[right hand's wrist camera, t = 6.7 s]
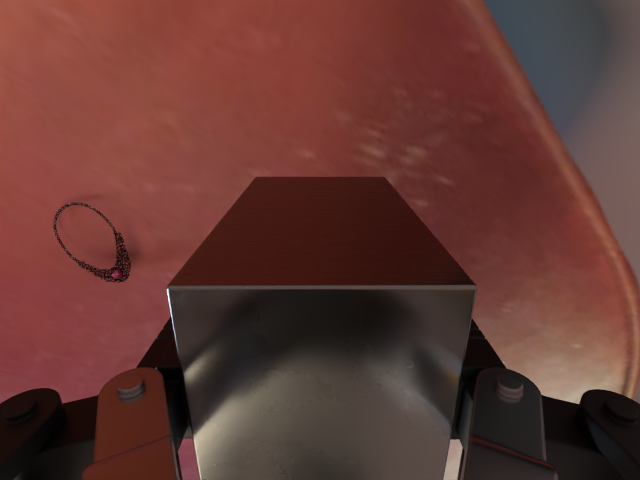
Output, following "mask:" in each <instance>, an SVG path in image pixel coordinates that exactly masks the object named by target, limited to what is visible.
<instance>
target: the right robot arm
mask: <svg viewBox="0 0 640 480" xmlns="http://www.w3.org/2000/svg"><path fill="white" fill-rule="evenodd" d="M183 438H192V433H191V427H190V421H189V416H188V410H187V404H186V398H185V392H184V387H183V381H182V375H181V369H180V363H179V358H178V352H177V346H176V340H175V335H174V329H173V323H172V317H170V319H169V320H168V322H167V323H166V324H165V326H164V327H163V330H161V332H160V333H159V335H158V336H157V339H155V341H154V342H153V344H152V345H151V347H150V348H149V350H148V351H147V353H146V354H145V356H144V357H143V359H142V360H141V361H140V363H139V364H138V366H137V367H136V368H135V369H131V370H128V371H125V372H123V373H120V374H119V375H117V376H115V377H114V378H112V379H111V380H110V381H108V382H107V383H106V384H105V385H104V386H103V388H102V389H101V391H100V393H99V395H97V396H94V397H89V398H85V399H81V400H77V401H72V402H68V403H64V404H62V401H61V398H60V395H59V394H58V392H57V391H55V390H53V389H49V388H40V389H33V390H29V391H26V392H23V393H20V394H18V395H15V396H13V397H11V398H9V399H7V400H6V401H4V402H2V403H1V404H0V480H183V479H182V472H181V466H180V460H179V455H178V450H179V447H180V445H181V442H182V440H183ZM450 439H460V442H461V444H462V447H463V449H462V454H461V460H460V466H459V472H458V478H457V480H640V404H639V403H637V402H635V401H634V400H632V399H630V398H628V397H626V396H623V395H621V394H618V393H615V392H612V391H607V390H600V389H595V390H589V391H587V392H585V393H584V394H583V395H582V397H581V400H580V403H579V404H576V403H571V402H567V401H563V400H558V399H554V398H550V397H546V396H543V395H541V393H540V391H539V389H538V388H537V386H536V385H535V384H534V383H533V382H532V381H530V380H529V379H528V378H526V377H525V376H523V375H521V374H520V373H517V372H515V371H512V370H509V369H506V367H505V366H504V364H503V363H502V361H501V360H500V358H499V357H498V355H497V354H496V352H495V351H494V350H493V348H492V347H491V345H490V344H489V342H488V341H487V339H485V336H484V335H483V334H482V332H481V331H480V330H479V328H478V326H477V325H476V323H475V322H474V320H473V319H471V325H470V331H469V336H468V342H467V348H466V353H465V359H464V364H463V370H462V376H461V381H460V387H459V393H458V398H457V404H456V410H455V415H454V421H453V427H452V432H451V438H450Z"/></svg>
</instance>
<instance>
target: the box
mask: <svg viewBox="0 0 640 480" xmlns="http://www.w3.org/2000/svg"><path fill="white" fill-rule="evenodd" d="M476 291H477V287H476V285H475V283H474V282H473V281H472V280H471V279H470V277H469V276H468V275H467V274H466V273H465V272H464V270H463V269H462V268H461V267H460V266H459V264H458V263H457V262H456V261H455V260H454V258H453V257H452V256H451V255H450V254H449V253H448V251H447V250H446V249H445V248H444V247H443V245H442V244H441V243H440V242H439V241H438V240H437V238H436V237H435V236H434V235H433V234H432V232H431V231H430V230H429V229H428V228H427V227H426V225H425V224H424V223H423V222H422V221H421V219H420V218H419V217H418V216H417V215H416V214H415V212H414V211H413V210H412V209H411V208H410V206H409V205H408V204H407V203H406V202H405V200H404V199H403V198H402V197H401V196H400V195H399V193H398V192H397V191H396V190H395V189H394V187H393V186H392V185H391V184H390V183H389V182H388V180H387V179H386V178H385V177H255V179H254V180H253V181H252V182H251V184H250V185H249V186H248V187H247V189H246V190H245V191H244V192H243V193H242V195H241V196H240V197H239V198H238V200H237V201H236V202H235V203H234V204H233V206H232V207H231V208H230V209H229V211H228V212H227V213H226V214H225V216H224V217H223V218H222V219H221V220H220V222H219V223H218V224H217V225H216V227H215V228H214V229H213V230H212V231H211V233H210V234H209V235H208V236H207V238H206V239H205V240H204V241H203V243H202V244H201V245H200V246H199V247H198V249H197V250H196V251H195V252H194V254H193V255H192V256H191V257H190V258H189V260H188V261H187V262H186V263H185V265H184V266H183V267H182V268H181V270H180V271H179V272H178V273H177V274H176V276H175V277H174V278H173V279H172V281H171V282H170V283H169V284H168V286H167V294H168V300H169V306H170V311H171V317H172V323H173V329H174V335H175V340H176V346H177V352H178V358H179V363H180V369H181V375H182V381H183V387H184V392H185V398H186V404H187V410H188V416H189V421H190V427H191V433H192V439H193V444H194V450H195V456H196V462H197V468H198V473H199V479H200V480H443V478H444V472H445V466H446V461H447V455H448V449H449V444H450V438H451V432H452V427H453V421H454V415H455V410H456V404H457V398H458V393H459V387H460V381H461V376H462V370H463V364H464V359H465V353H466V348H467V342H468V336H469V331H470V325H471V319H472V314H473V308H474V302H475V297H476Z"/></svg>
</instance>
